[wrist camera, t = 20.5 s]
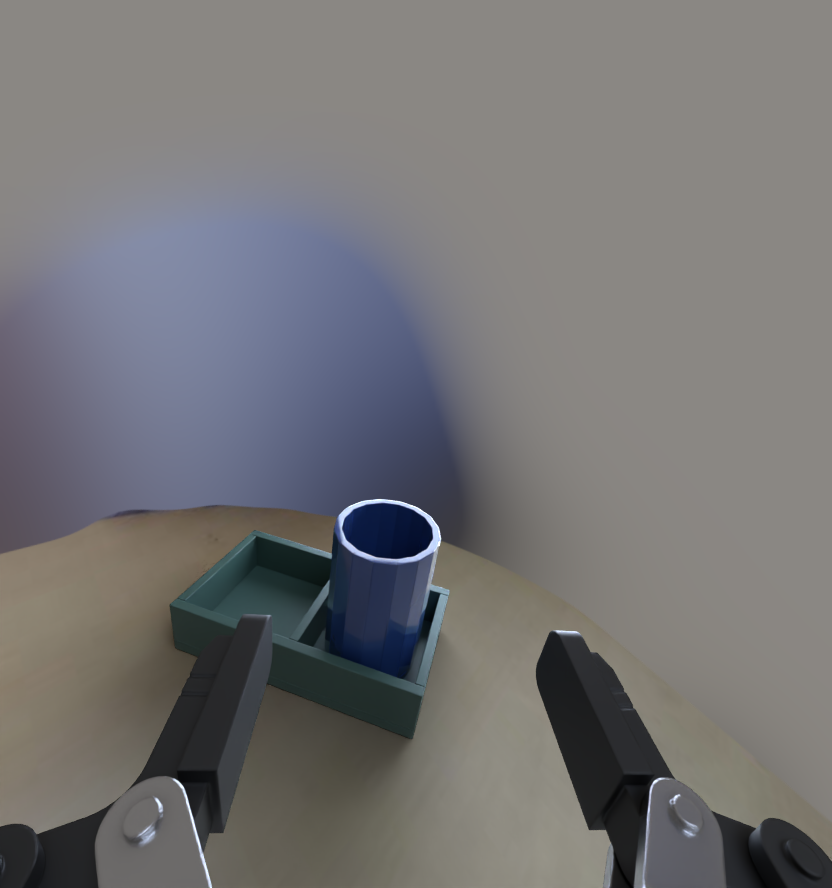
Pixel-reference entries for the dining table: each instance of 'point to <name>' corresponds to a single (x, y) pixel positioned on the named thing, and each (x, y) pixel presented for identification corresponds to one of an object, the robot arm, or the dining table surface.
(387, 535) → the cup
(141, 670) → the dining table surface
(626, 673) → the dining table surface
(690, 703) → the dining table surface
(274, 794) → the dining table surface
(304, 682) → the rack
